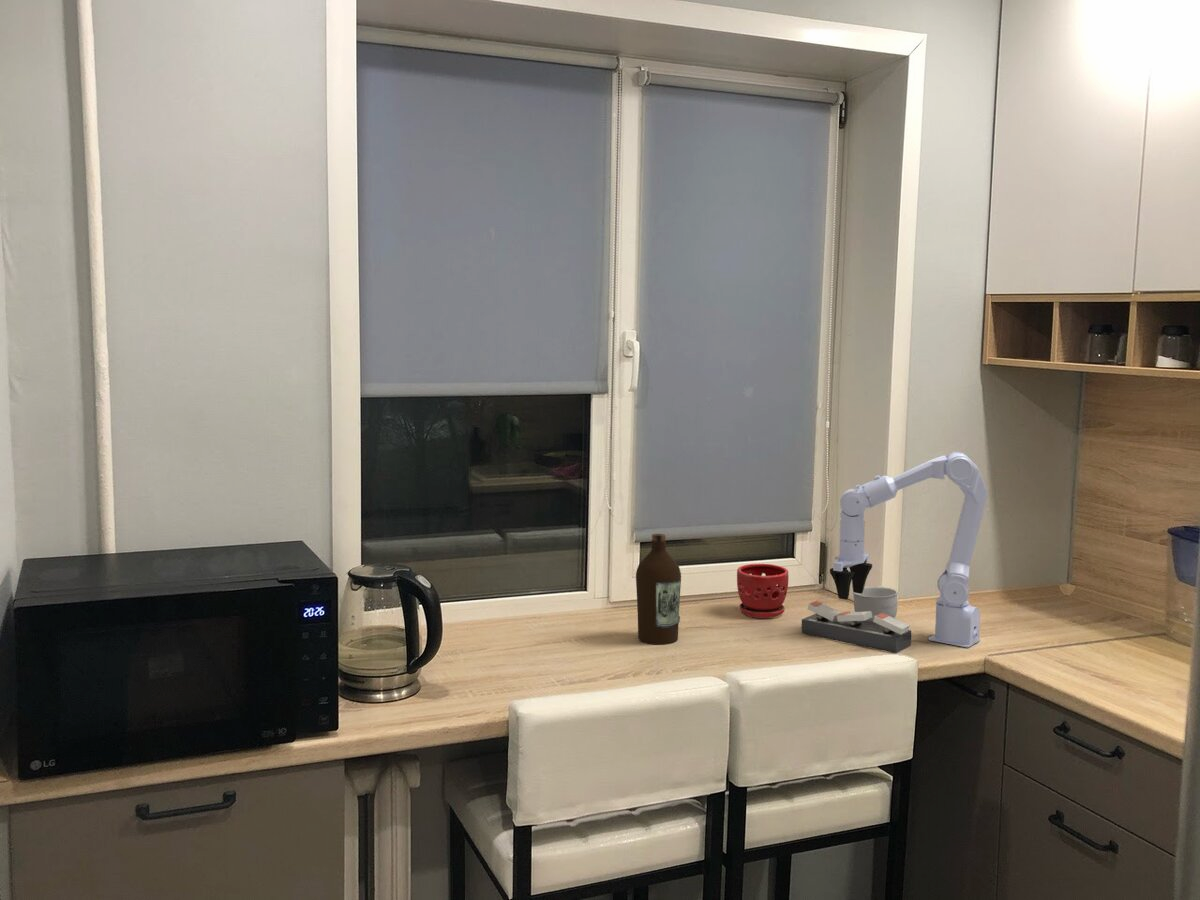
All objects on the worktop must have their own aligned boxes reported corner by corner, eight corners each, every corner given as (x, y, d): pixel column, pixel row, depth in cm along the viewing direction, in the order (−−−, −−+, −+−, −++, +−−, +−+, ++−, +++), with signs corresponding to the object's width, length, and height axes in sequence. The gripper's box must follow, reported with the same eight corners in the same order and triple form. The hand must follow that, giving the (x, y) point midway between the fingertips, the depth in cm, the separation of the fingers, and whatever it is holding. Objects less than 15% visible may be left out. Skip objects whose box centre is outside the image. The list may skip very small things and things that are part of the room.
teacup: (887, 630, 247) (888, 598, 246) (845, 622, 253) (846, 591, 252) (907, 617, 258) (908, 587, 257) (867, 611, 264) (868, 581, 263)
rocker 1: (840, 617, 243) (842, 611, 243) (832, 621, 240) (834, 615, 240) (815, 605, 247) (816, 599, 247) (807, 609, 244) (808, 603, 244)
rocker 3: (908, 630, 232) (910, 624, 232) (900, 634, 229) (902, 628, 229) (880, 617, 236) (882, 611, 236) (872, 621, 233) (874, 615, 233)
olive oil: (626, 637, 241) (627, 533, 238) (662, 630, 246) (663, 528, 244) (653, 648, 232) (654, 540, 229) (689, 640, 238) (690, 535, 235)
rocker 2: (872, 617, 238) (871, 610, 238) (864, 620, 235) (863, 613, 235) (845, 618, 242) (844, 611, 242) (837, 621, 239) (836, 614, 239)
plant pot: (726, 611, 264) (727, 566, 263) (768, 605, 270) (769, 561, 268) (754, 623, 252) (755, 576, 251) (798, 617, 258) (799, 571, 257)
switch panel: (910, 645, 234) (911, 625, 234) (896, 653, 228) (896, 632, 228) (817, 626, 250) (818, 607, 249) (801, 633, 244) (801, 614, 243)
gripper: (850, 533, 249) (849, 587, 251) (822, 542, 238) (820, 598, 240) (877, 537, 245) (876, 592, 246) (849, 546, 234) (848, 603, 235)
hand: (850, 595), depth 243 cm, fingers open, 7 cm apart
